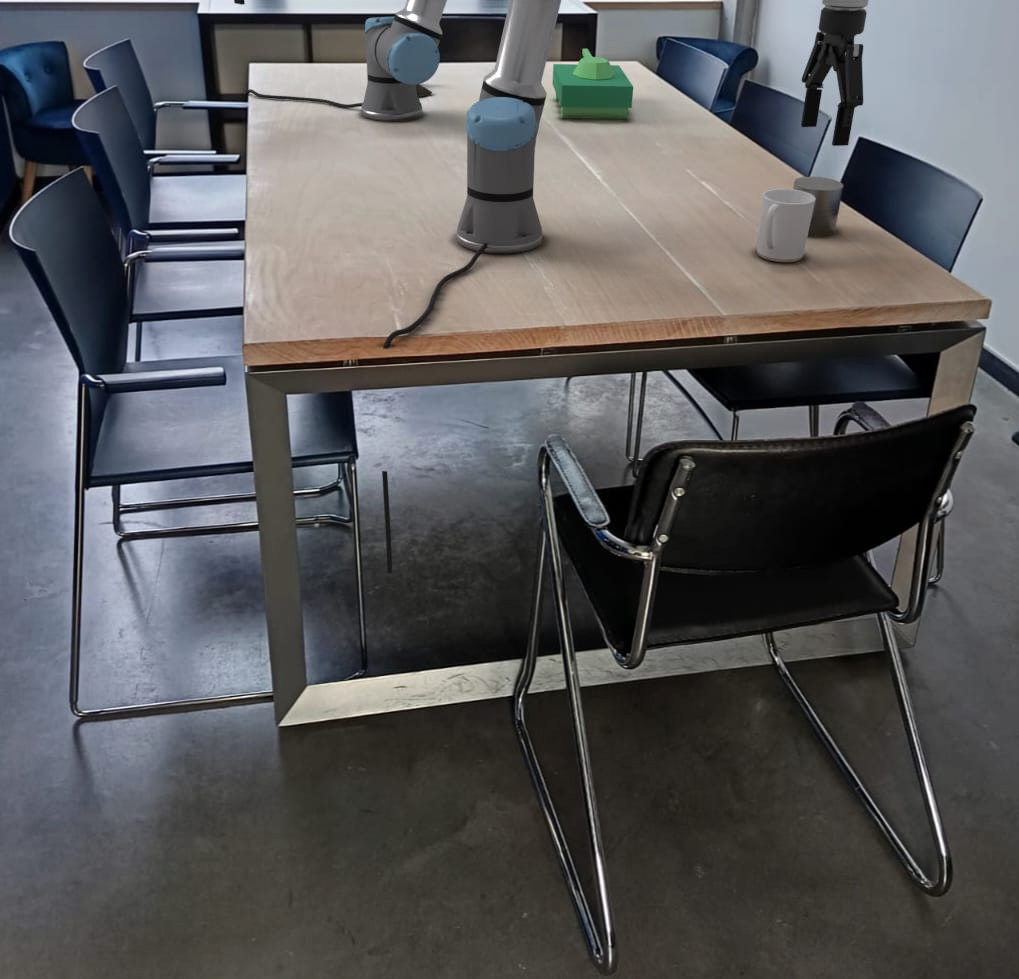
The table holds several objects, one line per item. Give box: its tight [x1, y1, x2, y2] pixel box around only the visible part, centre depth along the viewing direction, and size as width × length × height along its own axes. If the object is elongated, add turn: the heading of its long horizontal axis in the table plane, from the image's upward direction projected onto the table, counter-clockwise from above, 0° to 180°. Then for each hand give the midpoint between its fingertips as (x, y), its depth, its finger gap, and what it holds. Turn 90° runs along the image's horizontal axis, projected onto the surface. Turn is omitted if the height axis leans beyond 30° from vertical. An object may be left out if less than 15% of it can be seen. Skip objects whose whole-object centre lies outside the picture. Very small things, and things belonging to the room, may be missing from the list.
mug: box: [756, 188, 816, 263], centre depth 188 cm, size 11×9×10 cm
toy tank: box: [552, 48, 634, 120], centre depth 286 cm, size 18×12×35 cm
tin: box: [792, 176, 844, 238], centre depth 203 cm, size 9×9×9 cm
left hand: (265, 1), depth 240 cm, fingers open, 13 cm apart
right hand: (823, 135), depth 196 cm, fingers open, 13 cm apart
